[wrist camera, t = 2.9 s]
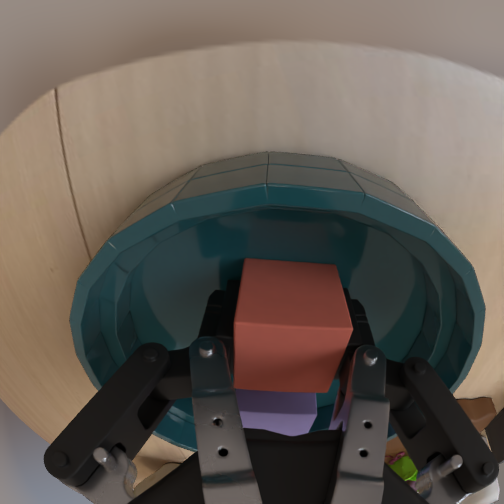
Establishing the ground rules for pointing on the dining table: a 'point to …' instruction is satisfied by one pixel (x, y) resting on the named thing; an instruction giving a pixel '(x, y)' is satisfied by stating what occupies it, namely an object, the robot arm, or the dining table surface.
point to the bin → (496, 436)
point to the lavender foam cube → (277, 411)
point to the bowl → (284, 249)
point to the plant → (401, 462)
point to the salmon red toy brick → (289, 326)
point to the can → (484, 493)
